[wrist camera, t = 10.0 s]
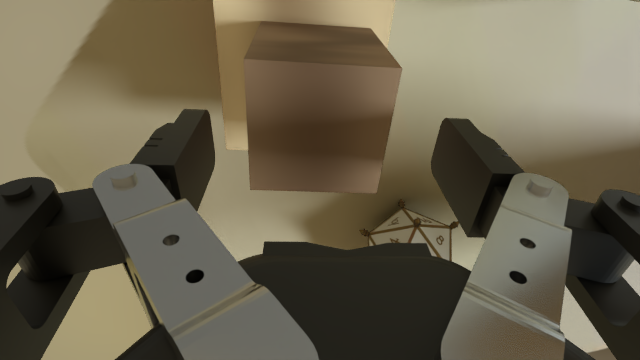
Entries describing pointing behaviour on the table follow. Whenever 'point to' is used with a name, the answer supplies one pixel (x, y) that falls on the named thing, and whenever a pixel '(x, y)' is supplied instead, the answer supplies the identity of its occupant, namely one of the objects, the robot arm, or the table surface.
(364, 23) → the tower top
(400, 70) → the block
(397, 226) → the game die
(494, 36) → the table surface
